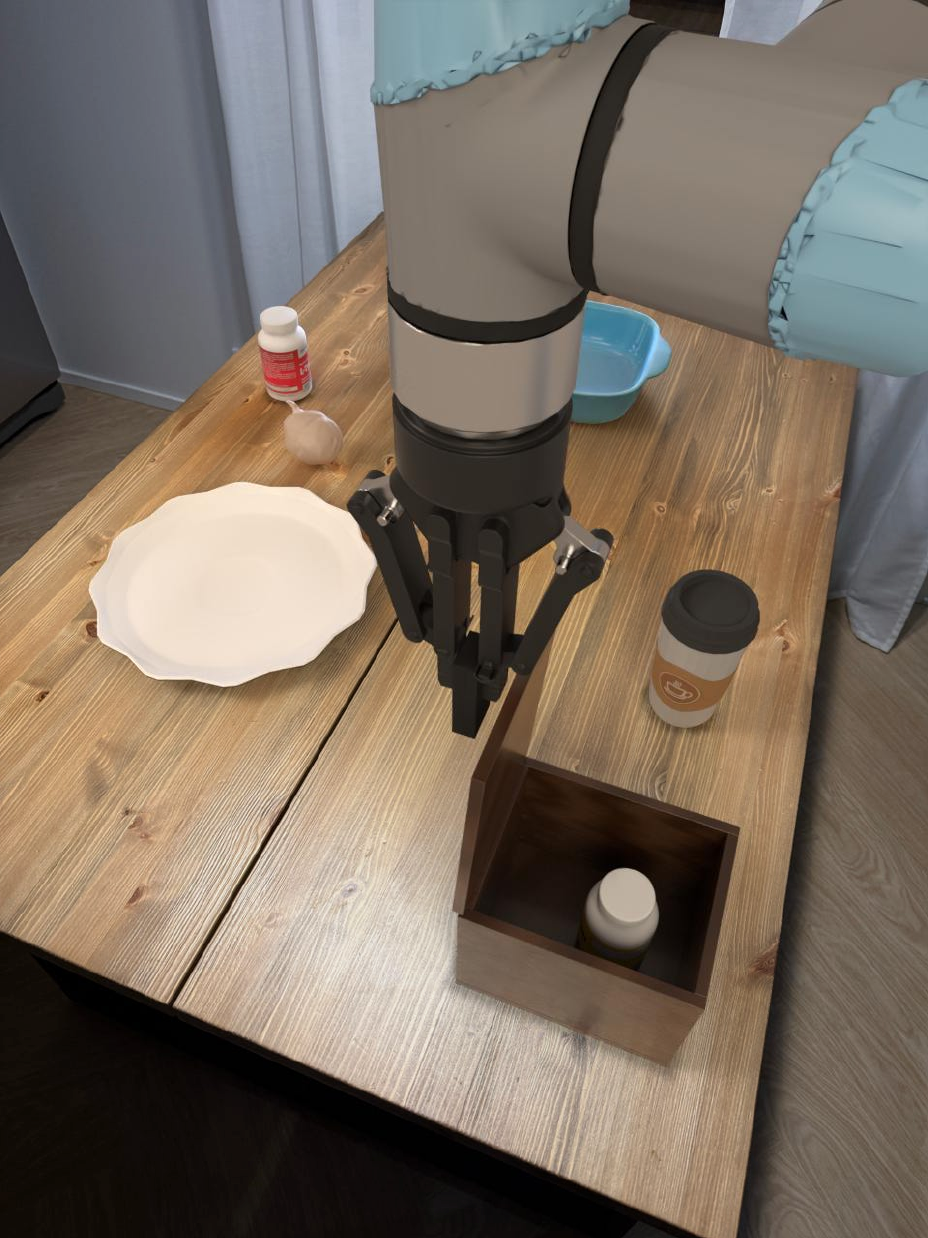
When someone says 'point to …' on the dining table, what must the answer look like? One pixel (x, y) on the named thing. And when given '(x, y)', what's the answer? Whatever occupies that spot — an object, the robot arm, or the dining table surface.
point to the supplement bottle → (619, 918)
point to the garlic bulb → (311, 436)
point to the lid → (497, 775)
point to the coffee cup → (700, 644)
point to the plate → (232, 584)
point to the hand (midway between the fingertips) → (471, 718)
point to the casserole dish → (615, 361)
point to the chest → (555, 898)
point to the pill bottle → (284, 354)
